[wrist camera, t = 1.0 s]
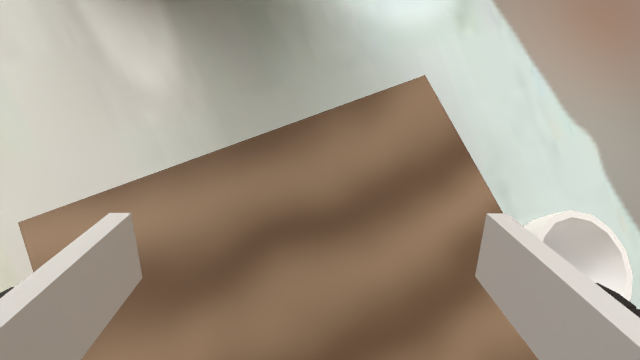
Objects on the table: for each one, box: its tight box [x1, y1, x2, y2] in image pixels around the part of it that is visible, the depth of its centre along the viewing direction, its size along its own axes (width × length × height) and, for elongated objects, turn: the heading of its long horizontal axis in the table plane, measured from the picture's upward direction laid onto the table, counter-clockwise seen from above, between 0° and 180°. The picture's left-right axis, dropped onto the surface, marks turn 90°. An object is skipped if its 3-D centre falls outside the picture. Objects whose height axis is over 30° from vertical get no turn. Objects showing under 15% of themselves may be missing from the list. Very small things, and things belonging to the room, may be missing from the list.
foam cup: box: [523, 210, 633, 301], centre depth 36 cm, size 10×9×13 cm
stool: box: [18, 75, 538, 360], centre depth 28 cm, size 24×24×20 cm
